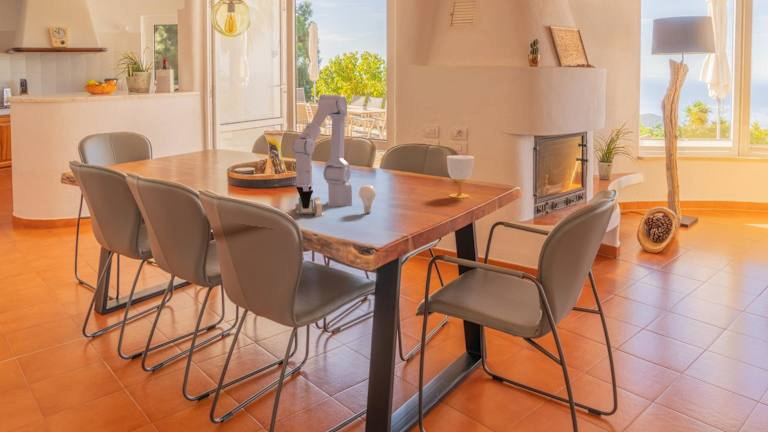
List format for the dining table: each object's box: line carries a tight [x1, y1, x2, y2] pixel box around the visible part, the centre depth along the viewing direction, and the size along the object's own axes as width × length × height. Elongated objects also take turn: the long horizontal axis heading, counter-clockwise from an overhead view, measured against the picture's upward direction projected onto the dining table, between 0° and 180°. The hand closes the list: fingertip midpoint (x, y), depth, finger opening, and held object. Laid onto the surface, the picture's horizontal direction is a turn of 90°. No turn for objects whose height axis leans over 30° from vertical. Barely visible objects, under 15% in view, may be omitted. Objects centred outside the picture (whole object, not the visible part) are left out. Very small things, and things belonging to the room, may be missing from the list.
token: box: [294, 202, 299, 211], centre depth 248 cm, size 4×4×2 cm
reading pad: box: [297, 212, 313, 218], centre depth 240 cm, size 5×6×1 cm
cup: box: [446, 154, 475, 199], centre depth 273 cm, size 12×12×17 cm
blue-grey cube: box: [298, 196, 314, 214], centre depth 239 cm, size 5×5×5 cm
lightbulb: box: [358, 184, 377, 215], centre depth 241 cm, size 6×6×11 cm
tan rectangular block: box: [313, 197, 325, 217], centre depth 242 cm, size 3×12×5 cm, turn 12°
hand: (305, 206), depth 239 cm, fingers closed on blue-grey cube, 5 cm apart
